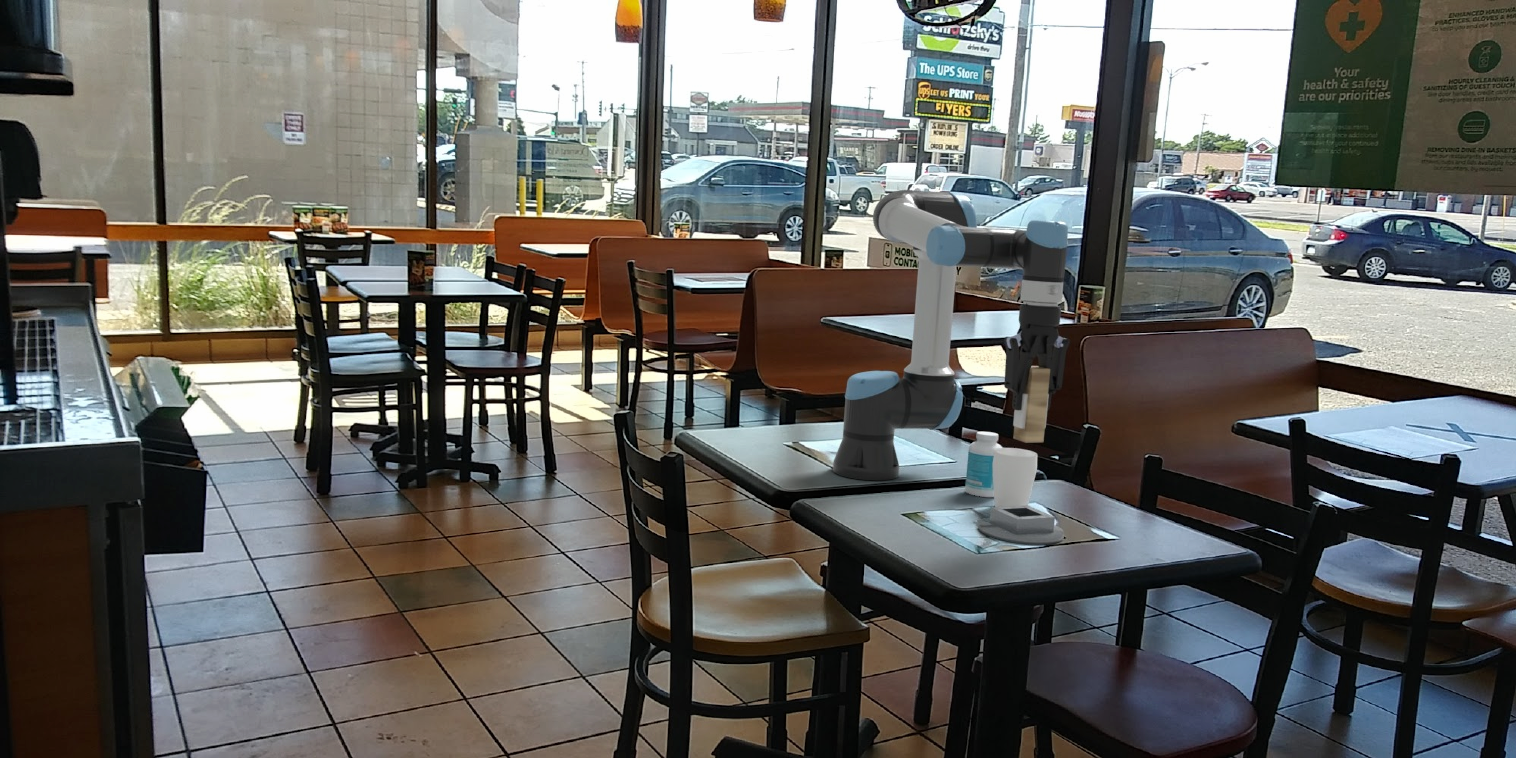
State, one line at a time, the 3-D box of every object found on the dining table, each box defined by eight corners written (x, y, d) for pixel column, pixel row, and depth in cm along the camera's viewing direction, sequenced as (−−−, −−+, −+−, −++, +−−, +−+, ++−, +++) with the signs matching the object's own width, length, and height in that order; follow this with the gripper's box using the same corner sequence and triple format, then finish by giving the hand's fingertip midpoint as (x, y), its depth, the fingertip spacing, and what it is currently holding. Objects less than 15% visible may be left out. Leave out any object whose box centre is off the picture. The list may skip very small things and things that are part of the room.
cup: (1033, 516, 232) (1039, 458, 230) (988, 511, 234) (993, 454, 232) (1032, 505, 241) (1037, 450, 239) (988, 501, 243) (993, 446, 241)
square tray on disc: (962, 523, 224) (964, 503, 223) (1029, 519, 230) (1031, 499, 229) (1010, 547, 209) (1012, 525, 208) (1081, 541, 215) (1083, 521, 215)
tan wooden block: (1013, 438, 218) (1019, 365, 216) (1030, 437, 219) (1037, 365, 217) (1025, 442, 214) (1032, 369, 212) (1043, 442, 216) (1050, 369, 214)
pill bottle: (997, 500, 244) (1002, 438, 242) (962, 495, 246) (967, 434, 244) (1001, 492, 251) (1006, 432, 249) (967, 488, 253) (972, 428, 251)
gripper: (1014, 304, 206) (1003, 431, 210) (1090, 306, 213) (1078, 429, 216) (990, 300, 213) (980, 423, 216) (1065, 303, 220) (1054, 422, 223)
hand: (1029, 426), depth 216 cm, fingers closed on tan wooden block, 4 cm apart
